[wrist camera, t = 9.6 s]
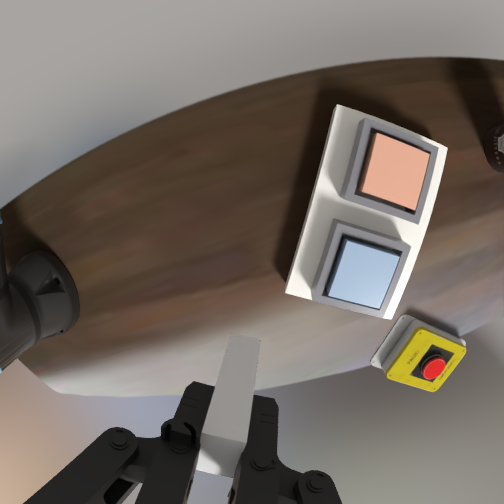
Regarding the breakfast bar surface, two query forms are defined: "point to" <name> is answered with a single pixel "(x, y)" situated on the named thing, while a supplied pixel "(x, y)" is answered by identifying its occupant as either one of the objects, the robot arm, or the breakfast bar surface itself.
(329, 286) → the blue key
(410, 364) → the emergency button
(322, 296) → the key panel
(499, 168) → the coffee mug
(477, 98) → the breakfast bar surface
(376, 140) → the terracotta key
